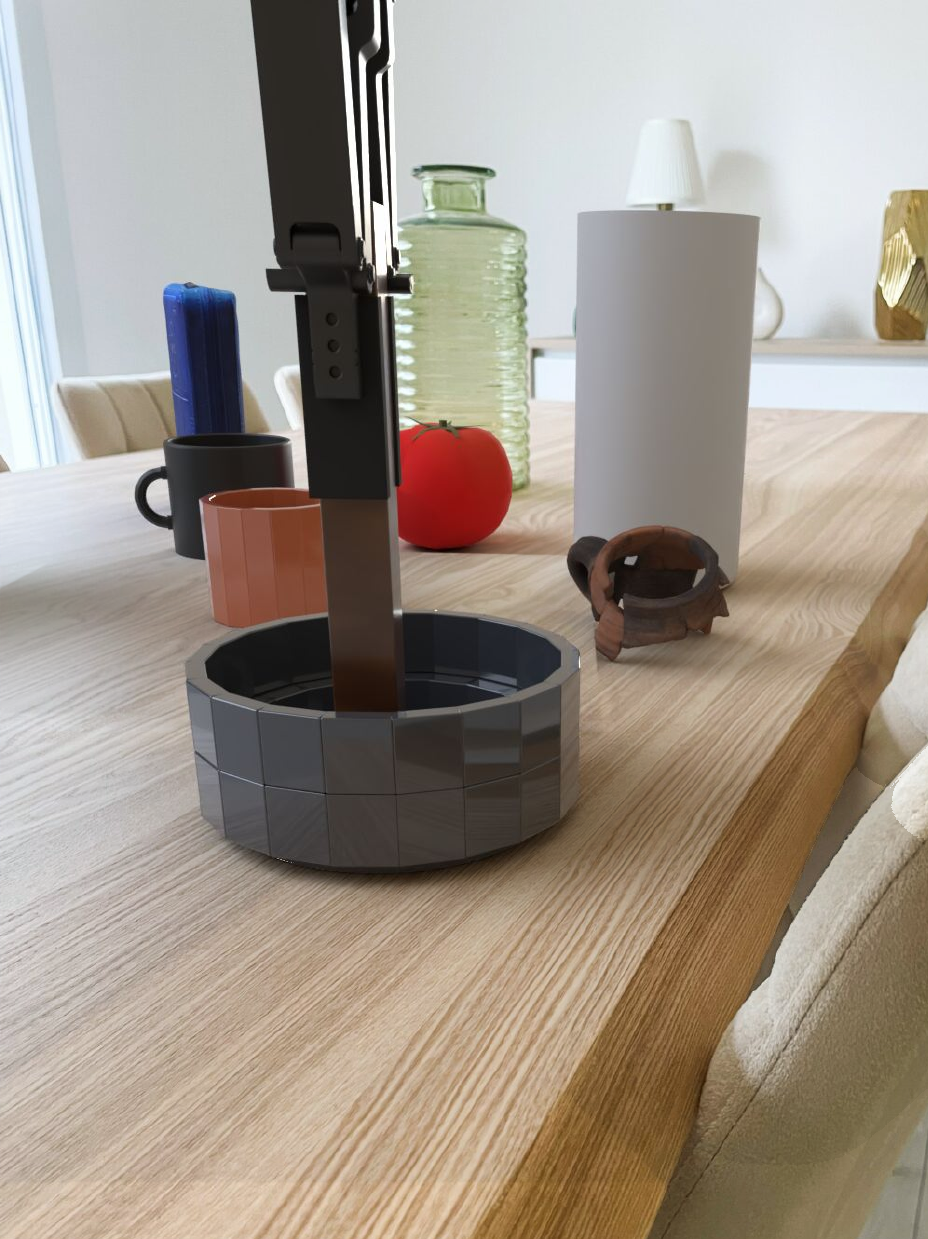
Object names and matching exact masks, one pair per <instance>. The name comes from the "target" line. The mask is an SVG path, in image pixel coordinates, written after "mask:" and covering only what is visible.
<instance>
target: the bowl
mask: <svg viewBox="0 0 928 1239" xmlns="http://www.w3.org/2000/svg"><path fill="white" fill-rule="evenodd" d="M402 622H403V643H404V665H405V687H406V708H407V711H400V712H335V708H334V694H333V680H332V666H331V651H330V637H329V623H328V612H324V613H317V614H310V615H303V616H296V617H289V618H282V619H278V620H274V621H270V622H266V623H262V624H258V625H254V626H250V627H246V628H242V629H240V628H237V629H236V630H232V631H230V632H227V633H226V634H223V635H220V636H218V637H216V638H214V639H212V640H210V641H207V642H205V643H203V644H201V645H200V646H199V647H198V648H196V650H195V651H194V652H193V653H192V654H191V655H190V656H188V658H187V659H186V660H184V661H183V670H184V672H183V673H184V679H185V688H186V698H187V705H188V713H189V722H190V731H191V740H192V748H193V757H194V764H195V772H196V774H195V775H196V782H197V790H198V799H199V806H200V815H201V817H202V819H203V820H205V821H206V823H208V825H209V826H211V827H212V828H213V829H215V831H217V832H218V834H220V836H222V837H223V838H224V839H225V840H226V839H227V841H230V842H232V843H235V844H237V845H239V846H243V847H245V848H247V849H250V850H253V851H256V852H258V853H260V852H261V853H260V854H262V853H263V854H262V855H265V854H266V855H265V856H267V855H268V856H267V857H269V856H271V857H270V858H272V857H274V858H273V859H275V858H279V859H282V860H285V862H284V863H286V861H288V862H289V863H288V864H290V863H291V862H292V863H293V864H292V865H294V864H296V865H295V866H298V865H300V866H299V867H302V866H304V867H303V868H307V867H309V869H313V868H315V869H314V870H319V869H324V870H323V871H325V870H331V871H330V872H335V871H339V872H338V873H345V872H347V874H349V873H348V872H351V873H350V874H353V873H352V872H356V873H355V874H368V873H371V874H372V875H373V874H375V875H376V874H398V873H397V872H403V873H414V872H423V870H424V871H430V870H439V869H444V868H449V867H454V866H459V865H460V866H461V865H464V864H467V863H471V862H475V861H479V860H483V859H486V858H488V857H491V856H494V855H497V854H500V853H502V852H505V851H507V850H509V849H512V848H514V847H516V846H518V845H520V844H521V843H523V842H525V841H526V840H528V839H529V838H532V837H533V836H535V835H537V834H539V833H541V832H542V831H545V830H547V829H548V828H550V827H551V826H554V825H556V824H558V823H559V822H560V821H561V820H562V819H563V817H565V815H567V813H568V812H569V810H571V808H572V807H573V806H574V804H575V803H576V802H577V801H578V799H579V791H580V790H579V789H580V788H579V787H580V786H579V785H580V731H581V730H580V727H581V726H580V725H581V723H580V722H581V721H580V720H581V671H582V670H581V652H580V650H579V649H578V648H577V647H576V646H575V645H573V644H572V643H571V642H570V641H569V640H567V638H565V637H564V636H563V635H561V634H558V633H556V632H553V631H551V630H549V629H545V628H543V627H540V626H538V625H535V624H532V623H530V622H526V621H520V620H515V619H511V618H506V617H501V616H496V615H492V614H487V613H479V612H478V613H477V612H467V611H458V610H449V609H432V608H429V609H425V608H424V609H423V608H402ZM316 868H318V869H316Z"/></svg>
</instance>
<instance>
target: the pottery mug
mask: <svg viewBox="0 0 928 1239" xmlns="http://www.w3.org/2000/svg"><path fill="white" fill-rule="evenodd" d="M634 556H637V559H636V561H635V563H634V565H628V564H625V560H626V558H627V557H634ZM718 563H719V556H718V554H717V553H716V551H715V550H714V549H713V548H712V547H711V546H710V545H709V544H708V543H707V542H706V541H705V540H704V539H702V538H701V537H699V536H696V535H693V534H692V533H690V532H688V531H685V530H682V529H679V528H676V527H670V526H664V527H662V526H660V525H652V526H643V527H637V528H633V529H630V530H628V531H625V532H623V533H620V534H618V535H617V536H615V537H613V538H612V539H611V540H609V541H607V540H606V539H604V538H600V537H596V536H584V537H581V538H580V539H578V540H577V542H576V543H574V544H572V545H571V546H569V549H568V552H567V555H566V566H567V569H568V572H569V575H570V578H571V579H572V582H574V584H575V586H577V589H578V590H579V591H580V593H581V594H582V595H583V597H584V598H585V599H586V600H587V601H588V602H589V603H590V610H591V613H592V617H593V619H594V621H595V622H598V624H597V628H596V633H595V634H594V637H593V639H594V642H595V649H596V650H597V651H598V652H599V653H600V654H602V656H605V657H606V658H607V659H608V660H610V661H611V662H614V661H616V659H617V658H618V656H619V655H620V653H621V652H622V649H626V650H629V649H635V648H641V647H648V646H652V645H659V644H664V643H669V642H674V641H682V640H684V639H686V638H687V637H688V634H689V633H688V632H689V631H691V632H694V633H695V632H698V631H700V632H702V633H703V634H704V635H710V634H711V632H712V628H713V623H714V619H715V618H717V617H721V618H728V617H729V616H730V612H729V609H728V604H727V601H726V598H725V595H724V593H723V591H722V589H720V587H719V585H720V586H724V585H726V584H730V581H729V579H728V577H727V576H726V574H725V573H724V572H723V570H722V569H721V568H720V567H719V566H718ZM704 568H705V575H704V576H703V578H702V579H701V580H700V582H699V583H698V584H697V585H696V586H695V587H693V584H694V582H695V578H696V575H697V572H698V570H700V569H704ZM730 585H731V584H730ZM621 600H622V607H621V606H620V602H621Z"/></svg>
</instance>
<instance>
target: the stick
mask: <svg viewBox="0 0 928 1239" xmlns="http://www.w3.org/2000/svg"><path fill="white" fill-rule="evenodd" d="M370 221H371V251H372V265H374V267H375V282H373V284H372V292H371V294H358V296H381V307H382V327H383V348H384V369H385V390H386V410H387V431H388V452H389V473H390V493H391V497H390V498H389V499H388V500H371V499H320V510H321V524H322V538H323V552H324V566H325V580H326V595H327V609H328V623H329V637H330V651H331V666H332V680H333V694H334V708H335V712H400V711H407V708H406V687H405V665H404V643H403V622H402V609H403V606H402V605H403V602H402V581H401V580H402V579H401V578H402V577H401V559H400V558H401V557H400V537H399V535H398V513H397V491H396V469H395V448H394V426H393V404H392V383H391V361H390V339H389V317H388V296H389V295H388V294H387V274H386V252H385V231H384V209H383V206H382V205H380V204H378V203H376V202H374V201H372V200H370ZM304 295H307V292H304Z"/></svg>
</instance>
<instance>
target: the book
mask: <svg viewBox="0 0 928 1239" xmlns="http://www.w3.org/2000/svg"><path fill="white" fill-rule="evenodd" d="M162 302H163V304H162V305H163V311H164V321H165V322H164V323H165V332H166V342H167V344H166V345H167V350H168V359H169V361H168V362H169V370H170V371H169V373H170V383H171V394H172V401H173V409H174V412H173V413H174V423H175V430H176V432H175V433H176V437H177V436H184V435H194V434H212V433H246V432H247V431H246V421H245V420H246V419H245V404H244V403H245V402H244V389H243V388H244V387H243V377H242V365H241V364H242V363H241V354H240V353H241V350H240V330H239V320H238V314H237V297H236V294H235V293H234V292H233V291H232V290H227V289H219V288H216V287H215V288H214V287H213V288H212V287H207V286H206V285H205V286H204V285H199V284H195V283H193V282H191V281H187V282H185V283H177V282H174V283H169V284H167V285H166V286H165V287H164V289H163V293H162Z"/></svg>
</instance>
